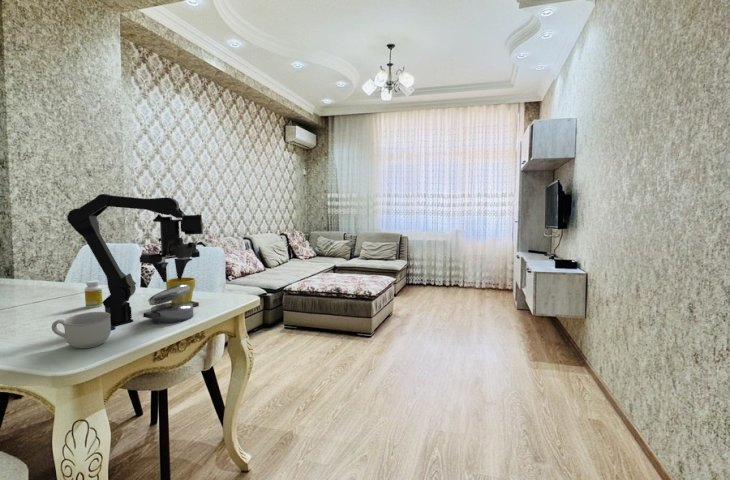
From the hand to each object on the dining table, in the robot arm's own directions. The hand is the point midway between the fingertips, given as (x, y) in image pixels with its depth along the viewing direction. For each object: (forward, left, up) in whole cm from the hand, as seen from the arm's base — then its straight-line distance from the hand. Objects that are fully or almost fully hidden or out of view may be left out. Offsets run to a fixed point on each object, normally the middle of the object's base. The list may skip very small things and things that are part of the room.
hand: (172, 280), depth 134 cm
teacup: (-28, -1, -13) cm, 31 cm away
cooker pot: (0, +1, -13) cm, 13 cm away
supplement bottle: (-4, +42, -13) cm, 44 cm away
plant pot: (+14, +15, -13) cm, 24 cm away
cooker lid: (0, +1, -6) cm, 6 cm away
